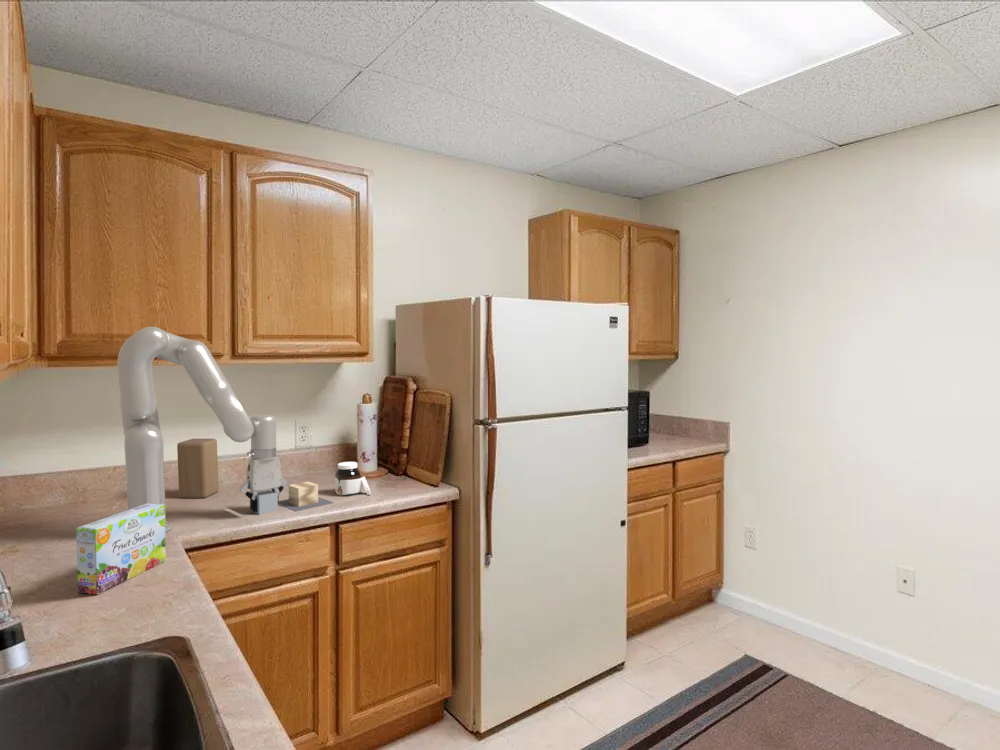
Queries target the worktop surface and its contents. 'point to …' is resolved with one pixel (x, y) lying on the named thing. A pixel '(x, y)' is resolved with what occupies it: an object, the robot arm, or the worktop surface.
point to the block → (197, 468)
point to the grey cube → (266, 502)
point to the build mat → (297, 508)
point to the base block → (303, 493)
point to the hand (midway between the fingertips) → (264, 508)
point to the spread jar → (349, 480)
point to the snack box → (120, 547)
